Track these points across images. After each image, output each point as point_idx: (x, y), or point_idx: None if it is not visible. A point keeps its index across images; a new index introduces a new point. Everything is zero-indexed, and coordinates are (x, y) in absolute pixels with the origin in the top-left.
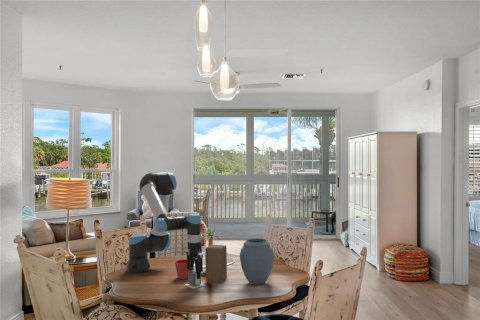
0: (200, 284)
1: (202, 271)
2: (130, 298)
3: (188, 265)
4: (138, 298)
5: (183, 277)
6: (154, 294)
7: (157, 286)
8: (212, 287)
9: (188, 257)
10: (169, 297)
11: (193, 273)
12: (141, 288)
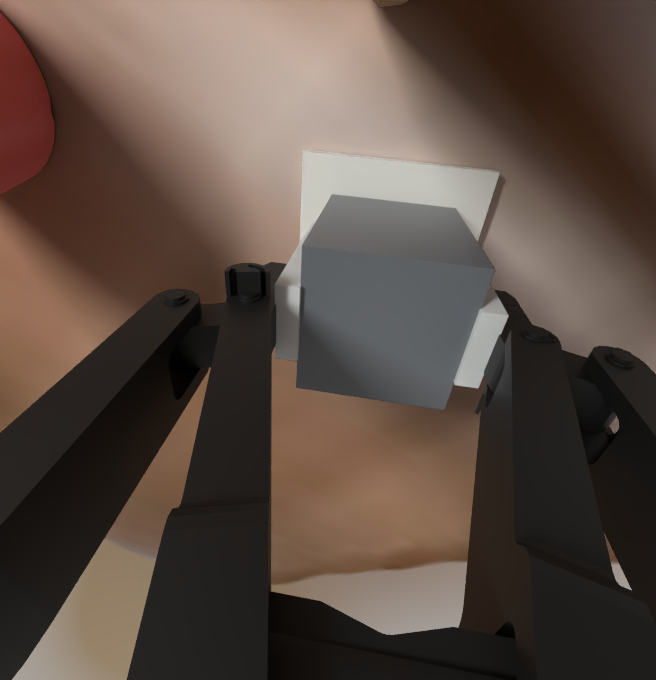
0: (439, 205)
1: (636, 364)
2: (296, 581)
3: (183, 393)
4: (324, 572)
5: (39, 160)
6: (326, 522)
7: (179, 436)
8: (653, 145)
9: (60, 588)
10: (450, 521)
11: (436, 399)
12: (166, 495)
